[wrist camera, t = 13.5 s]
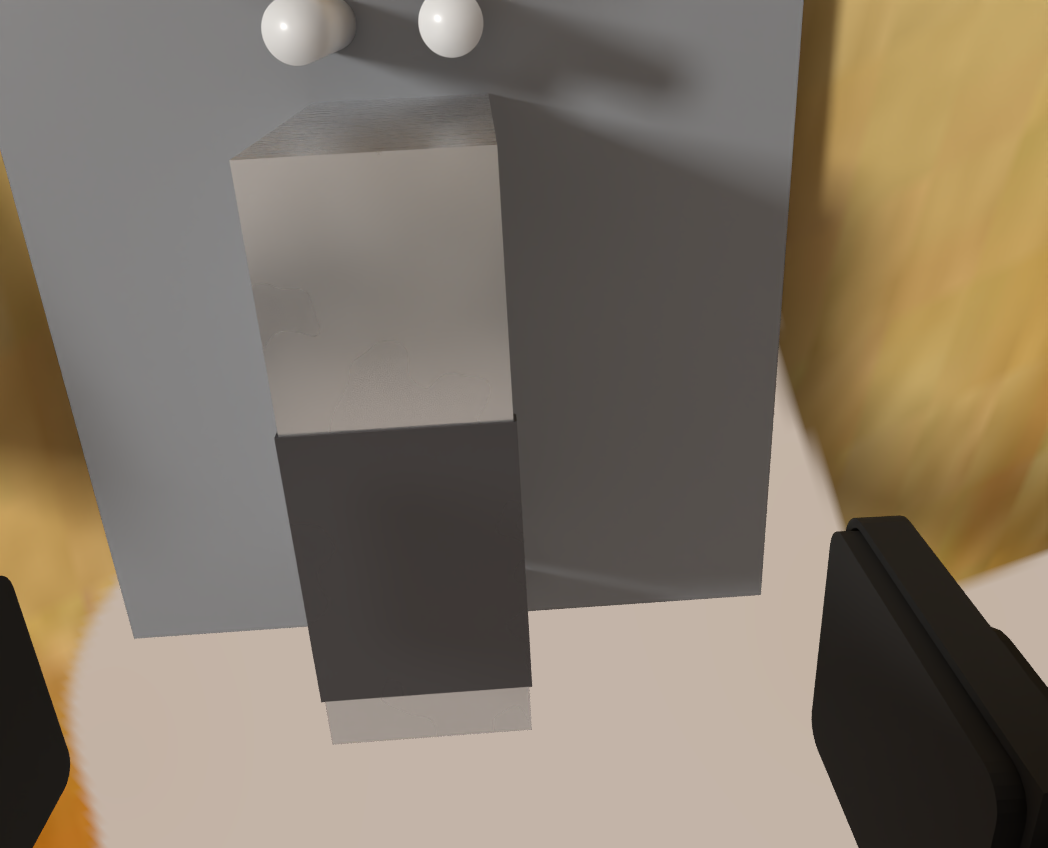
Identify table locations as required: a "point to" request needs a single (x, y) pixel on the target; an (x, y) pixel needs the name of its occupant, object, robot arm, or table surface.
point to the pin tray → (529, 261)
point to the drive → (394, 408)
